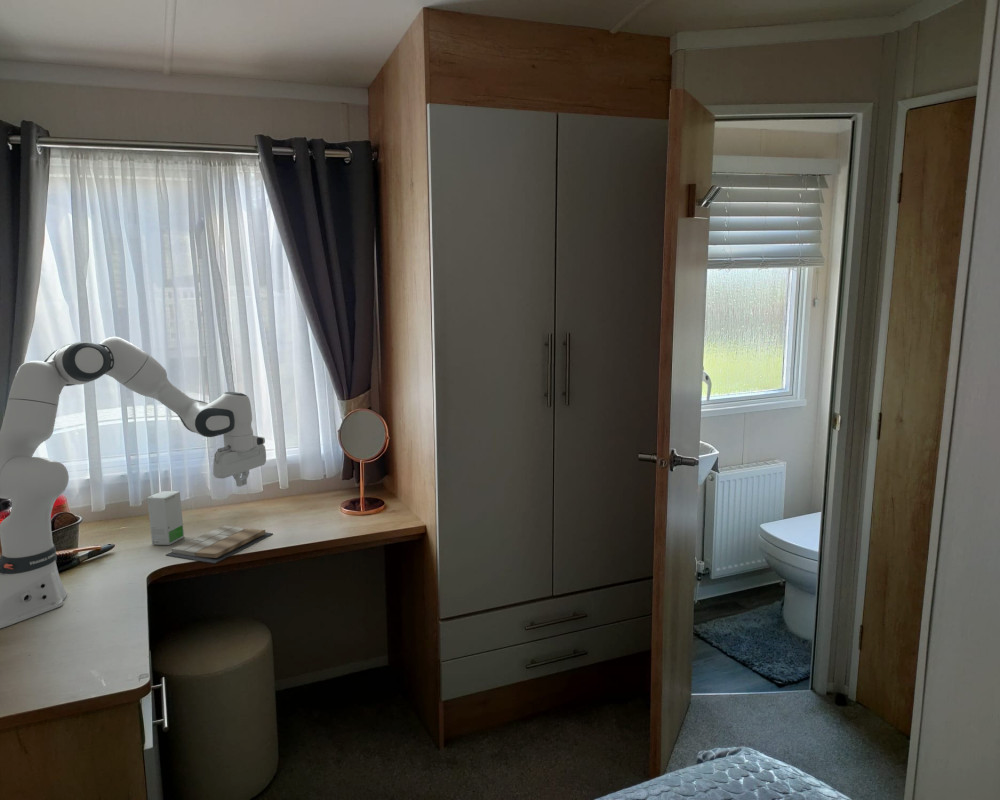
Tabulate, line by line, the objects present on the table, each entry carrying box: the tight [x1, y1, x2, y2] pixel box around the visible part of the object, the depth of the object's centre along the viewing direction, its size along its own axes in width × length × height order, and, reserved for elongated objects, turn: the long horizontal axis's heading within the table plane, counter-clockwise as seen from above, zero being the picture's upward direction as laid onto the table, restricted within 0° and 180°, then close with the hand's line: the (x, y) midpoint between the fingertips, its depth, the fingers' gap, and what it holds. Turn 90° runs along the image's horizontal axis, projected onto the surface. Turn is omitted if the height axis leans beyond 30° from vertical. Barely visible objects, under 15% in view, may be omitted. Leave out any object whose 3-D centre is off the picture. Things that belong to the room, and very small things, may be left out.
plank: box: [195, 528, 267, 558], centre depth 225 cm, size 22×8×1 cm, turn 158°
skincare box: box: [146, 490, 185, 546], centre depth 230 cm, size 8×7×16 cm
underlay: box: [165, 532, 274, 565], centre depth 227 cm, size 26×19×1 cm
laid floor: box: [171, 525, 245, 556], centre depth 229 cm, size 22×9×1 cm, turn 158°
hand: (241, 485), depth 229 cm, fingers closed
